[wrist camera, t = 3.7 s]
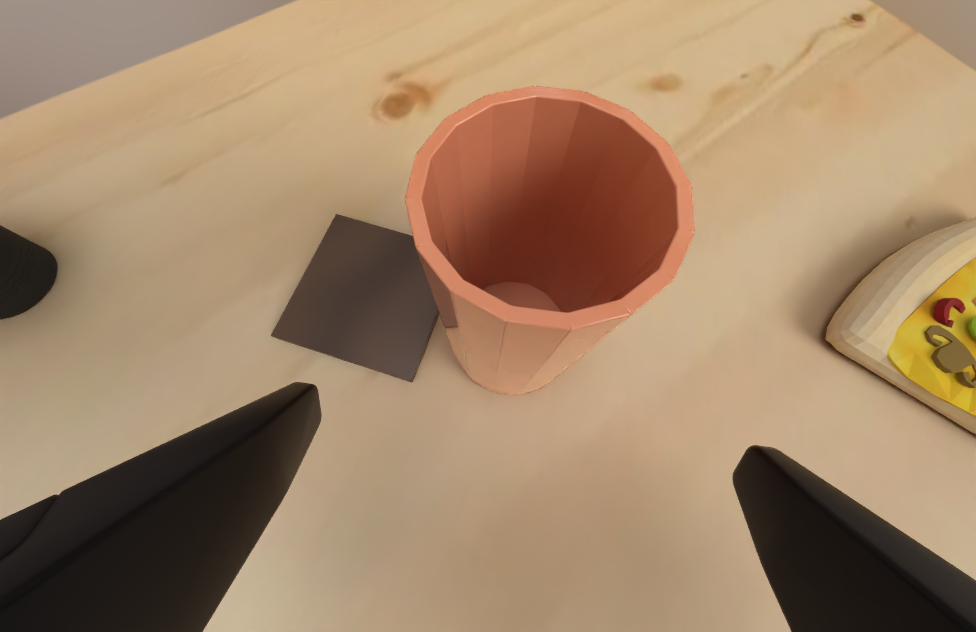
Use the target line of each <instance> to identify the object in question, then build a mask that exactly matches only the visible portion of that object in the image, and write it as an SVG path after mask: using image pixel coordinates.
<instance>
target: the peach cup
mask: <svg viewBox="0 0 976 632" xmlns="http://www.w3.org/2000/svg"><path fill="white" fill-rule="evenodd" d="M405 203H406V208H407V212H408V217H409V221H410V225H411V230H412V234H413V238H414V243H415V247H416V250H417V253H418V255H419V258H420V261H421V264H422V266H423V269H424V272H425V275H426V277H427V280H428V283H429V286H430V288H431V291H432V294H433V297H434V300H435V302H436V305H437V308H438V311H439V313H440V316H441V319H442V322H443V324H444V327H445V330H446V333H447V335H448V338H449V341H450V344H451V347H452V349H453V352H454V355H455V357H456V359H457V361H458V362H459V364H460V365H461V367H462V368H463V370H464V371H465V372H466V373H467V375H468V376H469V377H470V378H471V379H473V380H474V381H475V382H476V383H478V384H479V385H481V386H482V387H484V388H486V389H488V390H491V391H494V392H497V393H502V394H512V395H514V394H524V393H529V392H532V391H534V390H537V389H540V388H542V387H544V386H545V385H547V384H548V383H549V382H550V381H551V380H553V379H554V378H555V377H556V376H558V375H559V374H560V373H561V372H563V371H564V370H565V369H566V368H567V367H569V366H570V365H571V364H572V363H574V362H575V361H576V360H577V359H578V358H580V357H581V356H582V355H583V354H585V353H586V352H587V351H588V350H589V349H591V348H592V347H593V346H594V345H596V344H597V343H598V342H599V341H601V340H602V339H603V338H604V337H605V336H607V335H608V334H609V333H610V332H612V331H613V330H614V329H615V328H616V327H618V326H619V325H620V324H621V323H623V322H624V321H625V320H626V319H627V318H629V317H630V316H631V315H632V314H634V313H635V312H636V311H637V310H638V309H640V308H641V307H642V306H643V305H645V304H646V303H647V302H648V301H649V300H651V299H652V298H653V297H654V296H656V295H657V294H658V293H659V292H660V291H662V290H663V289H664V288H665V287H667V286H668V285H669V284H670V283H671V282H673V280H674V279H675V277H676V275H677V273H678V270H679V268H680V266H681V264H682V261H683V259H684V257H685V255H686V252H687V250H688V248H689V246H690V243H691V241H692V239H693V237H694V232H695V227H694V213H693V198H692V186H691V183H690V181H689V179H688V178H687V176H686V174H685V172H684V170H683V168H682V167H681V165H680V163H679V161H678V159H677V157H676V156H675V154H674V152H673V150H672V148H671V146H670V145H669V144H668V142H667V141H666V140H665V139H664V138H662V137H661V136H660V135H659V134H658V133H657V132H655V131H654V130H653V129H652V128H651V127H650V126H648V125H647V124H646V123H645V122H644V121H643V120H641V119H640V118H639V117H638V116H637V115H635V114H634V113H633V112H632V111H630V110H628V109H626V108H624V107H621V106H619V105H616V104H614V103H612V102H609V101H607V100H605V99H602V98H600V97H597V96H595V95H593V94H590V93H588V92H584V91H579V90H570V89H560V88H551V87H542V86H535V87H534V86H531V87H525V88H520V89H515V90H509V91H504V92H499V93H493V94H488V95H487V96H483V97H482V98H480V99H478V100H476V101H474V102H473V103H471V104H469V105H467V106H466V107H464V108H462V109H460V110H458V111H457V112H455V113H453V114H451V115H449V116H448V117H446V119H444V120H443V121H442V122H441V124H440V125H439V126H438V127H437V129H436V130H435V131H434V132H433V133H432V135H431V136H430V137H429V138H428V140H427V141H426V142H425V143H424V145H423V146H422V147H421V148H420V149H419V151H418V152H417V154H416V156H415V160H414V164H413V168H412V172H411V176H410V180H409V184H408V188H407V192H406V196H405Z"/></svg>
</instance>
